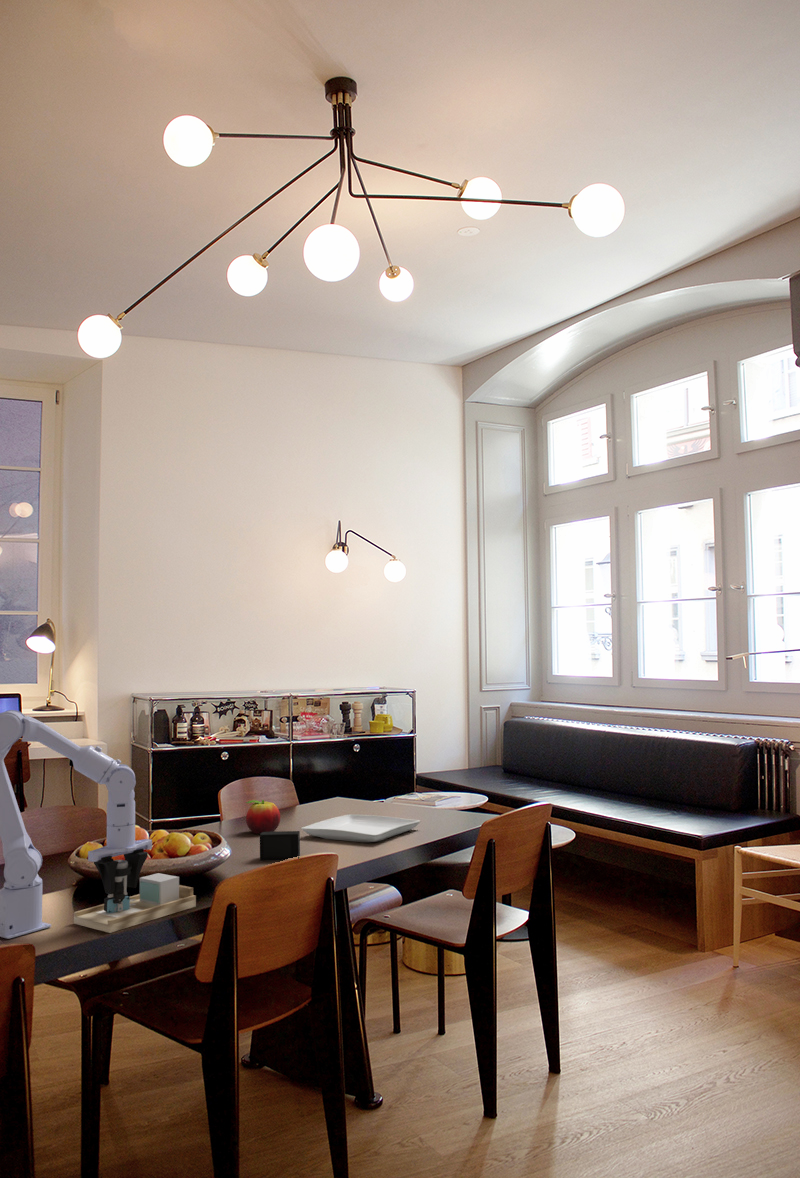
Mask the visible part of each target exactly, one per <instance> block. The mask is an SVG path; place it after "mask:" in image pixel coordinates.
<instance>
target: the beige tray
mask: <svg viewBox="0 0 800 1178" xmlns="http://www.w3.org/2000/svg"><path fill="white" fill-rule="evenodd" d="M129 897H130V900H132V899H135V901H131V902H130V904H132V906H129V909H128V910H123V911H119V912H113V913H108V912H106V911H104V903H102V904H98V905H96V906H92V907H88V908H85V909H80V910H77V911H74V912H73V924H74V925H78V926H83V927H85V928H90V929H94V930H97V931H100V932H105V933H109V934H111V933H114V932H115V933H116V932H118V931H122V930H124V929H127V928H130V927H134V926H137V925H140V924H144V923H147V922H149V921H153V920H156V919H159V918H162V917H167V916H168V915H172V914H176V913H180V912H182V911H185V910H188V909H189V910H190V909H193V908H196V906H197V895H194V887H191V886H188V885H187V886H186V885H182V884H179V899H178V900H175V901H172V902H168V903H165V904H162V905H154V904H150V903H145V902H140V893H138V894H134V895H132V896H131V895H130V896H129ZM133 904H136V905H133Z"/></svg>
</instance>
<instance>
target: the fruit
mask: <svg viewBox="0 0 800 1178" xmlns="http://www.w3.org/2000/svg"><path fill="white" fill-rule="evenodd" d="M245 803H246V804H250V803H252V804H251V805H250V807H249V808H248V810H247V811H246V816H245V822H246V825H247V827H248V829H249V831H251V832H252V833H254V834H256V835H257V834H258V835H260V834H261V833H262V832H270V831H274V832H276V830H277V828H278V827H279V825H280V822H281V813H280V809H279V808H278V806H277V805H276V804H275V803H274V802H270V801H264V799H261V801H259V800H255V799H253V800H249V801H246V802H245Z"/></svg>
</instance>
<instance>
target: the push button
mask: <svg viewBox="0 0 800 1178" xmlns="http://www.w3.org/2000/svg"><path fill="white" fill-rule="evenodd" d="M114 860H115V859H114ZM115 861H118V865H117V869H116V874H115V890H114V894H108V895H107V897H104V900H103V904H104V911H106V912H108V913H113V912H119V911H123V910H128V909H129V906H132V904H130V902H131V901H135V899H132V900H130V897H131V896H128V892H127V888H128V885H127V875H129V874H130V873H131V868H132V865H130V864H128V861H126V860H125V859H116V860H115ZM133 905H136V904H133Z"/></svg>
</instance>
